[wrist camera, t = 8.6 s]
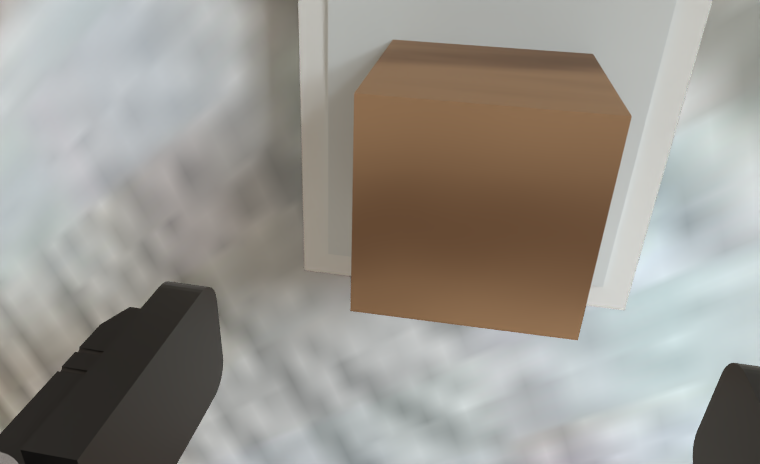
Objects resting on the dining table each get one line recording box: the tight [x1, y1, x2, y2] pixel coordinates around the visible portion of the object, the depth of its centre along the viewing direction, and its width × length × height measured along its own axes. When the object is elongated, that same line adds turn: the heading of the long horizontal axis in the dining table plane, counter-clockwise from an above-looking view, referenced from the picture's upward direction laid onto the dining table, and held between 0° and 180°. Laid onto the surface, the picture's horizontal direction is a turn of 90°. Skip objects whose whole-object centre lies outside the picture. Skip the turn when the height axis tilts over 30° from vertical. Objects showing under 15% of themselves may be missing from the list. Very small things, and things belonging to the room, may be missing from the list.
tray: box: [298, 0, 713, 310], centre depth 21 cm, size 12×12×3 cm
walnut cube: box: [351, 40, 632, 340], centre depth 17 cm, size 6×6×6 cm
